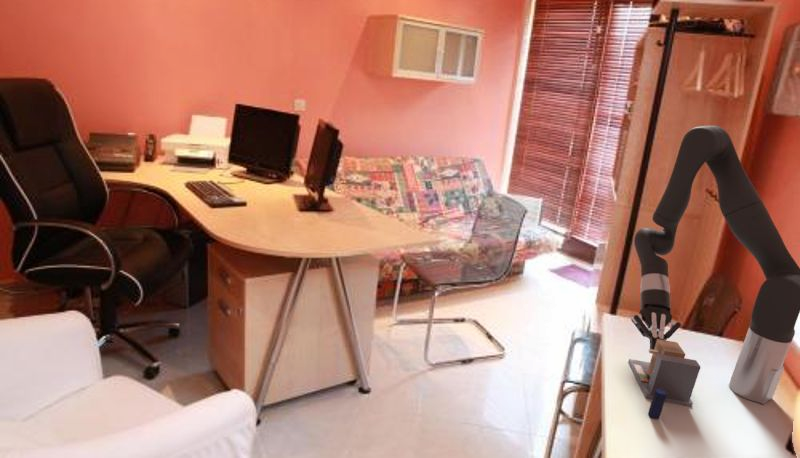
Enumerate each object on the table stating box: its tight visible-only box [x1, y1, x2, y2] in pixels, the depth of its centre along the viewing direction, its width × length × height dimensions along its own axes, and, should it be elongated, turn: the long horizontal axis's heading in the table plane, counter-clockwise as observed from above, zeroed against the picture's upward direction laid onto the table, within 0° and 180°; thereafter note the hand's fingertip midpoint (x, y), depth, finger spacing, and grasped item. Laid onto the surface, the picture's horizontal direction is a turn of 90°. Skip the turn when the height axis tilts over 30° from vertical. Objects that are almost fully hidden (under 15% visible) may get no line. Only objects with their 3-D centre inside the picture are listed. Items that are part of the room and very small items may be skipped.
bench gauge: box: [627, 354, 701, 407], centre depth 138 cm, size 17×11×11 cm, turn 172°
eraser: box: [648, 389, 666, 420], centre depth 125 cm, size 2×2×7 cm
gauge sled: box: [647, 339, 686, 377], centre depth 138 cm, size 6×7×10 cm
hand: (656, 353), depth 144 cm, fingers closed
